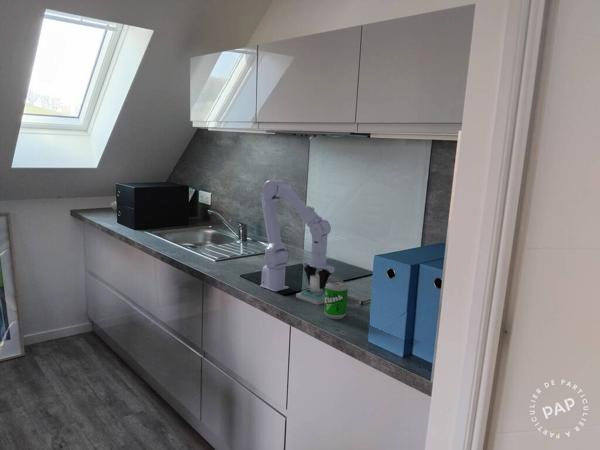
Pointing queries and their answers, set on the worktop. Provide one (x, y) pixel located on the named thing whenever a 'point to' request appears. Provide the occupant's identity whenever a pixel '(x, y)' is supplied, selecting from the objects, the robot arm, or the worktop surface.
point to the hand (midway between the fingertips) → (316, 286)
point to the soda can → (335, 299)
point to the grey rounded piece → (315, 284)
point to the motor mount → (315, 297)
